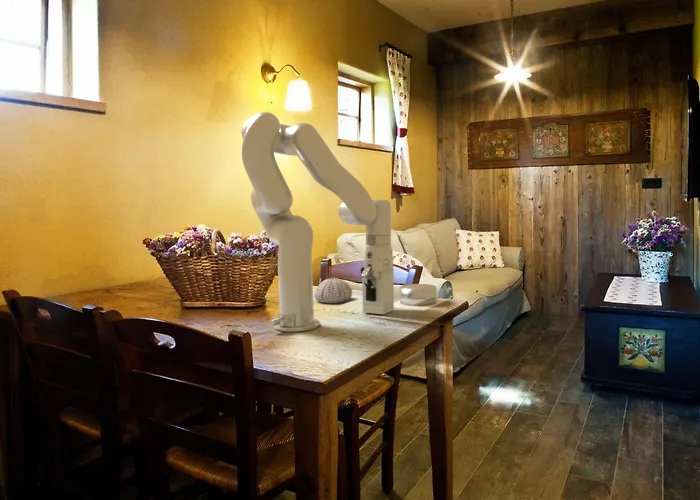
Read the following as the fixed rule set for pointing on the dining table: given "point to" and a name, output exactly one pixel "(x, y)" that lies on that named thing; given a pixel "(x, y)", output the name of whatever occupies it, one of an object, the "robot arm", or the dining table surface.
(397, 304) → the base board
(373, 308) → the supplement box
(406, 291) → the round metal tin
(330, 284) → the sea urchin shell
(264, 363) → the dining table surface
